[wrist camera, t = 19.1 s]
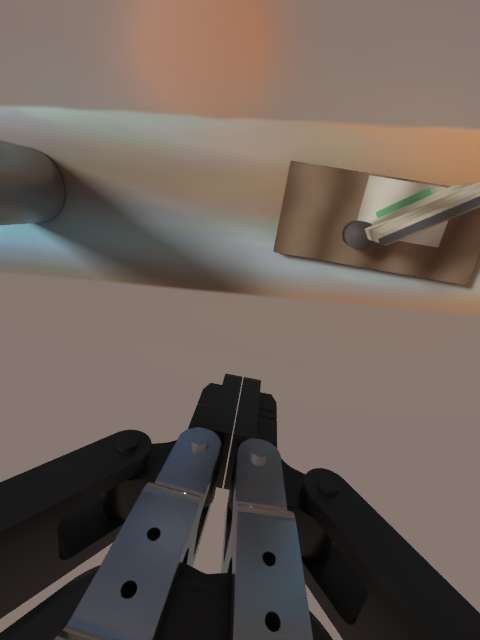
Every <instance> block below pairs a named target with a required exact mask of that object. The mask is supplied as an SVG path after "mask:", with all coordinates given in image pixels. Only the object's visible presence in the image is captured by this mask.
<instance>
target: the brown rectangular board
mask: <svg viewBox="0 0 480 640" xmlns="http://www.w3.org/2000/svg"><path fill="white" fill-rule="evenodd" d="M448 187H451V186H445V185H438V184H432V183H426V182H420V181H414V180H407V179H401V178H395V177H389V176H383V175H376V174H370V173H364V172H358V171H351V170H345V169H339V168H333V167H327V166H320V165H314V164H308V163H302V162H296V161H291V162H290V167H289V172H288V177H287V183H286V188H285V193H284V198H283V204H282V209H281V214H280V219H279V224H278V230H277V235H276V240H275V245H274V252H277V253H283V254H289V255H294V256H300V257H306V258H312V259H317V260H323V261H329V262H335V263H340V264H346V265H352V266H358V267H364V268H369V269H375V270H381V271H387V272H392V273H398V274H404V275H410V276H415V277H421V278H427V279H433V280H438V281H444V282H450V283H456V284H462V285H467V284H468V281H469V279H470V277H471V274H472V272H473V270H474V267H475V265H476V263H477V260H478V258H479V256H480V207H479V208H477V209H474V210H472V211H469V212H467V213H464V214H462V215H460V216H457V217H455V218H452V219H450V220H448V221H445V222H443V223H440V224H438V225H435V226H433V227H431V228H428V229H426V230H423V231H421V232H418V233H416V234H414V235H411V236H409V237H406V238H404V239H402V240H399V241H397V242H394V243H392V244H389V245H387V246H386V245H383V246H381V245H380V244H379V243H377V242H374V243H373V244H372V245H371V246H370V247H368V248H367V249H364V250H357V249H354V248H352V247H350V246H348V245H347V244H346V243H345V242H344V241H343V238H342V231H343V229H344V227H345V226H346V225H347V224H348V223H349V222H351V221H355V220H358V221H364V222H370V221H373V220H375V219H377V218H380V217H382V216H384V215H386V214H389V213H391V212H393V211H396V210H398V209H400V208H403V207H405V206H407V205H409V204H412V203H414V202H416V201H419V200H421V199H423V198H425V197H428V196H430V195H432V194H435V193H437V192H439V191H441V190H444V189H446V188H448Z"/></svg>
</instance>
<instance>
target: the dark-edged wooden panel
mask: <svg viewBox="0 0 480 640" xmlns="http://www.w3.org/2000/svg"><path fill="white" fill-rule="evenodd" d="M479 207H480V183H471V184H463V185H454V186H451V187H448V188H446V189H444V190H441V191H439V192H437V193H435V194H432V195H430V196H428V197H425V198H423V199H421V200H419V201H416V202H414V203H412V204H409V205H407V206H405V207H403V208H400V209H398V210H396V211H393V212H391V213H389V214H386V215H384V216H382V217H380V218H377V219H375V220H373V221H370V222H364V221H358V220H355V221H351V222H349V223H348V224H347V225H346V226H345V227H344V229H343V231H342V238H343V241H344V242H345V243H346V244H347V245H348V246H350V247H352V248H354V249H357V250H364V249H367V248H368V247H370V246H371V245H372V244H373V243H374V242H377V243H379V244H380V245H381V246H383V245H386V246H387V245H389V244H392V243H394V242H397V241H399V240H402V239H404V238H406V237H409V236H411V235H414V234H416V233H418V232H421V231H423V230H426V229H428V228H431V227H433V226H435V225H438V224H440V223H443V222H445V221H448V220H450V219H452V218H455V217H457V216H460V215H462V214H464V213H467V212H469V211H472V210H474V209H477V208H479Z"/></svg>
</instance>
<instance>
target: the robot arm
mask: <svg viewBox="0 0 480 640" xmlns="http://www.w3.org/2000/svg"><path fill="white" fill-rule="evenodd" d="M64 198H65V189H64V183H63V180H62V177H61V174H60V172H59V170H58V169H57V167H56V166H55V164H54V163H53V162H52V161H51V160H50V159H49V158H48V157H47V156H46V155H45V154H43V153H42V152H40V151H38V150H36V149H33V148H30V147H25V146H21V145H17V144H13V143H9V142H5V141H1V140H0V225H11V224H26V223H39V222H46V221H49V220H51V219H53V218H54V217H55V216H56V215H57V214H58V213H59V212H60V210H61V208H62V206H63V203H64ZM241 382H242V377H241V376H236V375H230V374H225V378H224V381H223V384H222V385H219V384H214V383H210V384H209V385H208V386H207V387H205V388H204V389H203V391H202V394H201V396H200V399H199V401H198V405H197V407H196V409H195V412H194V415H193V417H192V420H191V422H190V425H189V427H188V429H187V430H185V431H184V432H183V433H181V435H180V436H179V438H178V439H177V440H175V441H172V442H168V443H158V444H151V440H150V438H149V437H148V436H147V435H146V434H145V433H143V432H140V431H137V430H124V431H120V432H118V433H115V434H113V435H110V436H108V437H106V438H103V439H101V440H99V441H96V442H94V443H92V444H89V445H87V446H85V447H82V448H80V449H78V450H75V451H73V452H70V453H68V454H66V455H63V456H61V457H59V458H56V459H54V460H52V461H49V462H47V463H45V464H42V465H40V466H38V467H35V468H33V469H31V470H29V471H26V472H24V473H21V474H19V475H17V476H14V477H12V478H10V479H7V480H5V481H3V482H0V619H1V618H2V617H4V616H5V615H7V614H8V613H10V612H11V611H13V610H14V609H16V608H17V607H19V606H20V605H21V604H23V603H24V602H26V601H27V600H29V599H30V598H32V597H33V596H35V595H36V594H38V593H39V592H40V591H42V590H44V589H45V588H46V587H48V586H49V585H51V584H52V583H54V582H55V581H57V580H58V579H60V578H61V577H63V576H64V575H66V574H67V573H69V572H70V571H72V570H73V569H75V568H76V567H77V566H79V565H80V564H82V563H83V562H85V561H86V560H88V559H89V558H91V557H92V556H94V555H95V554H97V553H98V552H99V551H101V550H102V549H104V548H105V547H107V546H108V545H110V544H111V543H113V544H112V546H111V547H110V550H109V551H108V553H107V555H106V556H105V558H104V560H103V562H102V564H101V565H99V566H97V567H94V568H92V569H90V570H88V571H86V572H84V573H83V574H81V575H79V576H77V577H76V578H74V579H73V580H72V581H70V582H69V583H67V584H66V585H65V586H63V587H62V588H61V589H59V590H58V591H57V592H55V593H54V594H53V595H51V596H50V597H49V598H47V599H46V600H45V601H43V602H42V603H40V604H39V605H38V606H36V607H35V608H34V609H33V610H31V611H29V612H28V613H27V614H25V615H24V616H23V617H21V618H20V619H19V620H17V621H16V622H15V623H13V624H12V625H11V626H9V627H8V628H6V629H5V630H4V631H3V632H1V633H0V640H333V639H332V638H331V636H330V635H329V633H328V632H327V631H326V629H325V628H324V627H323V625H322V624H321V623H320V622H319V620H318V619H317V618H316V617H315V616H314V615H313V614H312V613H311V612H310V611H309V608H308V601H307V594H306V587H305V584H306V585H307V587H308V588H309V589H310V591H311V593H312V594H313V596H314V597H315V598H316V600H317V601H318V603H319V604H320V606H321V607H322V609H323V610H324V612H325V613H326V615H327V616H328V618H329V619H330V621H331V622H332V624H333V625H334V627H335V628H336V630H337V631H338V632H339V634H340V636H341V637H342V638H343V640H480V613H479V612H478V611H477V610H476V609H475V608H474V607H473V606H472V605H471V604H470V603H469V602H468V601H467V600H466V599H465V598H464V597H463V596H462V595H461V594H460V593H458V592H457V591H456V590H455V589H454V588H453V587H452V586H451V585H450V584H449V583H448V582H447V581H446V580H445V579H444V578H443V577H442V576H441V575H440V574H439V573H438V572H437V571H436V570H435V569H434V568H433V567H432V566H431V565H430V564H429V563H428V562H427V561H426V560H425V559H424V558H423V557H422V556H421V555H420V554H419V553H418V552H417V551H416V550H415V549H414V548H413V547H412V546H411V545H410V544H409V543H408V542H407V541H406V540H405V539H404V538H403V537H402V536H401V535H400V534H399V533H397V531H395V529H394V528H393V527H391V526H390V525H389V524H388V523H387V522H386V521H385V520H384V519H383V518H382V517H381V516H380V515H379V514H378V513H377V512H376V511H375V510H374V509H373V508H372V507H371V506H370V505H369V504H368V503H367V502H366V501H365V500H364V499H363V498H362V497H361V496H360V495H359V494H358V493H357V492H356V491H355V490H354V489H353V488H352V487H351V486H350V485H349V484H348V483H347V482H346V481H345V480H344V479H342V477H340V476H339V475H338V474H336V473H334V472H332V471H330V470H327V469H322V468H316V469H312V470H310V471H309V472H308V473H307V474H303V473H301V472H299V471H297V470H295V469H293V468H291V467H290V466H289V465H287V464H286V463H285V462H284V461H283V460H282V459H281V456H280V453H279V451H278V450H277V421H276V418H277V413H276V412H277V410H276V409H277V407H276V401H275V400H274V398H273V397H272V395H271V394H266V393H261V392H260V385H261V380H257V379H252V378H246V377H244V379H243V385H242V391H241V396H240V401H239V406H238V412H237V417H236V423H235V428H234V434H233V440H232V445H231V451H230V457H229V462H228V468H227V474H226V479H225V485H224V489H229V490H230V491H229V498H228V503H227V508H226V515H225V528H224V542H223V555H222V568H221V573H219V574H205V573H202V572H200V571H198V570H197V569H195V568H193V564H194V561H195V558H196V554H197V551H198V547H199V544H200V541H201V538H202V534H203V531H204V527H205V524H206V520H207V517H208V514H209V511H210V506H211V503H212V501H213V499H214V495H215V490H216V487H219V488H222V485H223V480H224V474H225V469H226V463H227V457H228V452H229V447H230V441H231V436H232V431H233V425H234V420H235V414H236V409H237V403H238V398H239V393H240V387H241Z"/></svg>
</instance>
